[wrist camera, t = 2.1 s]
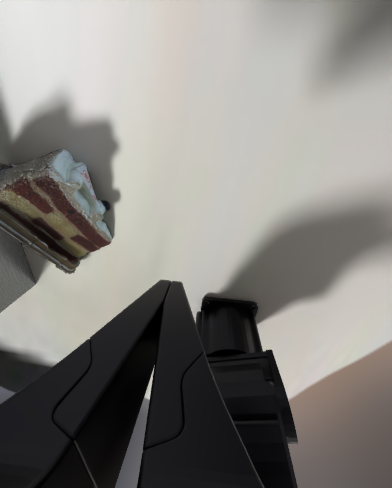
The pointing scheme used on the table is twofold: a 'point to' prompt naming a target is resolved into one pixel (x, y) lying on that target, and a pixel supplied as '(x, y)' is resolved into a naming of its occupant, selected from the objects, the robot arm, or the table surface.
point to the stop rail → (13, 271)
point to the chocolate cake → (53, 209)
